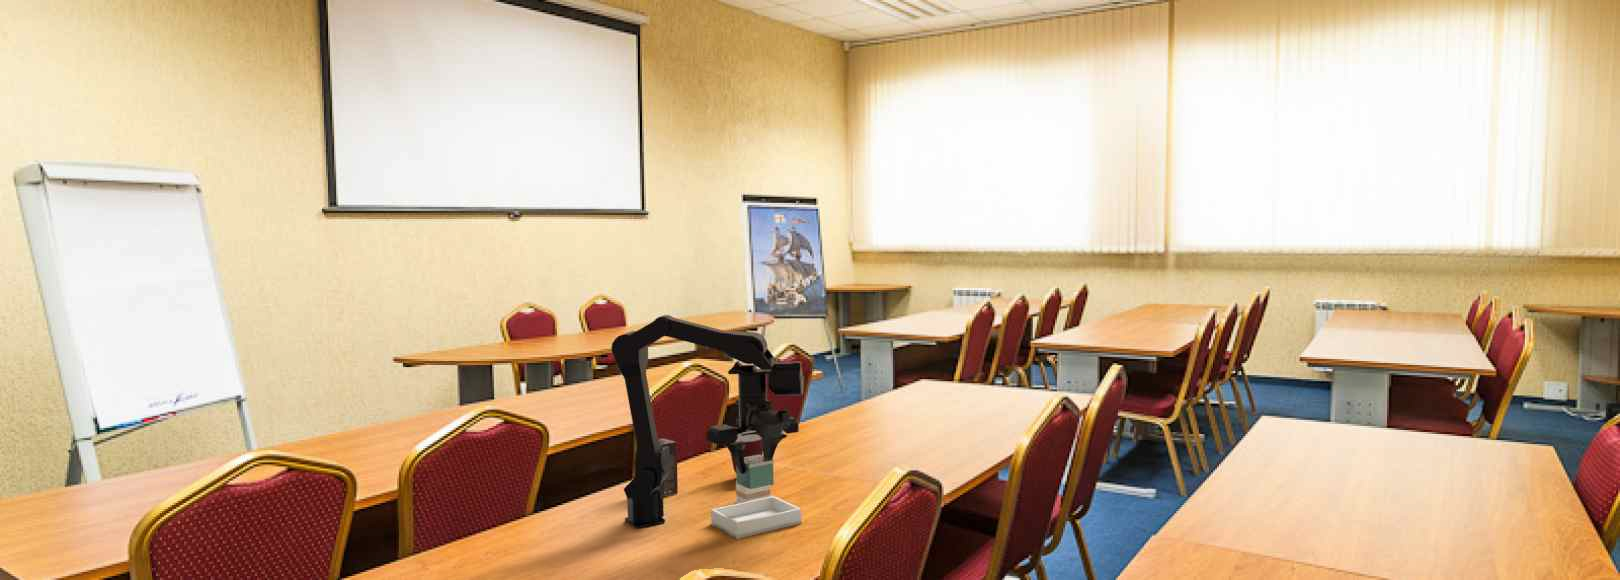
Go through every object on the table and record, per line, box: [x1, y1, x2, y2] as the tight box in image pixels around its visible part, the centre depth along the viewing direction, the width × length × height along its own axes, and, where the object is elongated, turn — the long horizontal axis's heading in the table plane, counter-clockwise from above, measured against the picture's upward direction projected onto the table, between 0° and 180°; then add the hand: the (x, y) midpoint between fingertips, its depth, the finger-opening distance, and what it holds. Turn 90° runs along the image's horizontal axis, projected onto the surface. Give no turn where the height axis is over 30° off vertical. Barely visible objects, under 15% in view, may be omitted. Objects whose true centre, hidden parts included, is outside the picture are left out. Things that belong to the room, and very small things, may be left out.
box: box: [657, 437, 679, 497], centre depth 204 cm, size 6×4×12 cm
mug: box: [730, 434, 763, 473], centre depth 212 cm, size 10×8×10 cm
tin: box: [735, 454, 775, 489], centre depth 180 cm, size 6×6×5 cm
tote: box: [710, 495, 803, 540], centre depth 181 cm, size 15×11×3 cm
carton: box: [735, 480, 771, 504], centre depth 195 cm, size 6×4×5 cm
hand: (754, 471), depth 180 cm, fingers closed on tin, 6 cm apart
